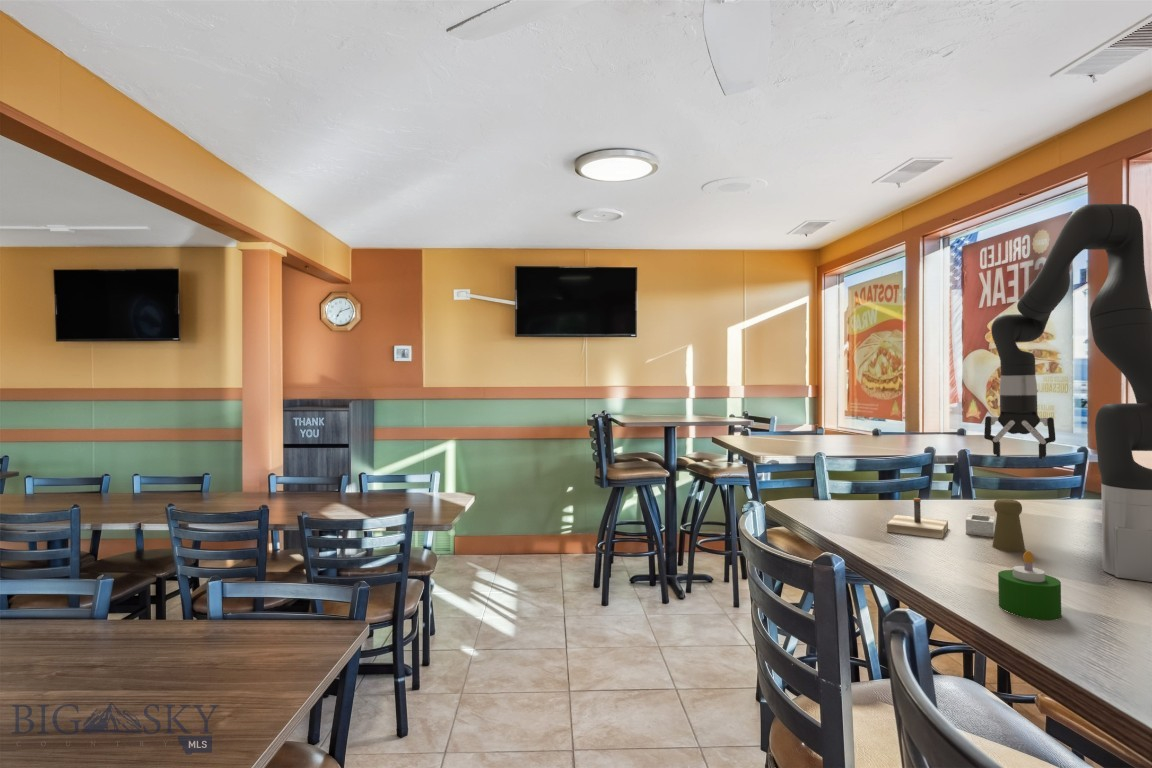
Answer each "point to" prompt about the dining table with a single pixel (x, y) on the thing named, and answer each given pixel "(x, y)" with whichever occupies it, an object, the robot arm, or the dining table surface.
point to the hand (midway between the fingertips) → (1019, 457)
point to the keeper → (917, 524)
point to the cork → (1008, 526)
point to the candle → (1029, 591)
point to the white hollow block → (980, 525)
